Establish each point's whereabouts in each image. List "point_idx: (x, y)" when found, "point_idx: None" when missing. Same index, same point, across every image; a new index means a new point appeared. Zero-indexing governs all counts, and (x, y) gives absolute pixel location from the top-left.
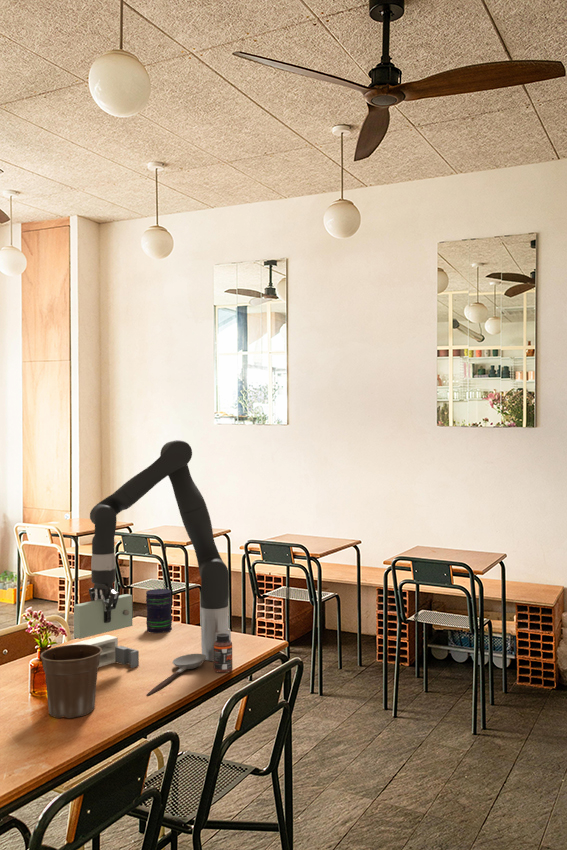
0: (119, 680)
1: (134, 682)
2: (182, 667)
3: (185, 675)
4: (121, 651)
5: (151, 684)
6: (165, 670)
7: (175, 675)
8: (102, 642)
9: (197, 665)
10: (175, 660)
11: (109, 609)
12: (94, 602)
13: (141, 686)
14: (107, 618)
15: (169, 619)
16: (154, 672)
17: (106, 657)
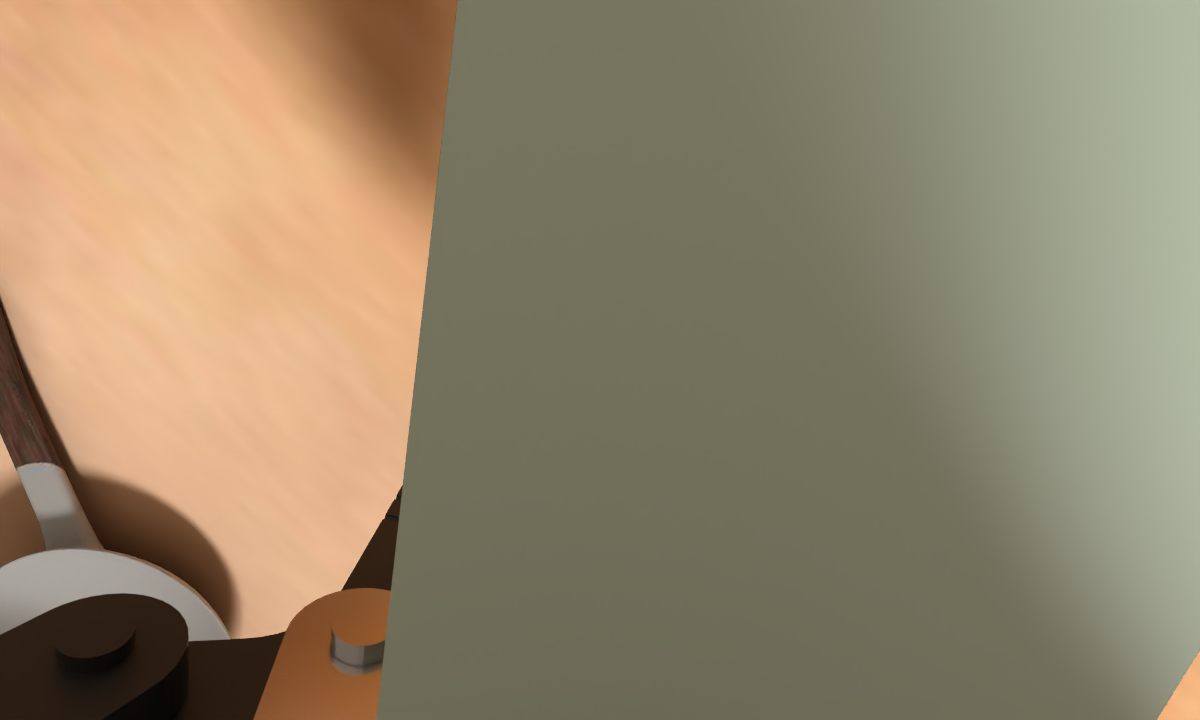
0: (357, 138)
1: (197, 158)
2: (64, 545)
3: (11, 475)
4: None
5: (33, 185)
6: (234, 507)
7: None
8: None
9: (11, 619)
10: (225, 639)
11: (64, 617)
12: (579, 600)
13: (56, 99)
14: (399, 495)
15: None
16: (267, 437)
17: None
